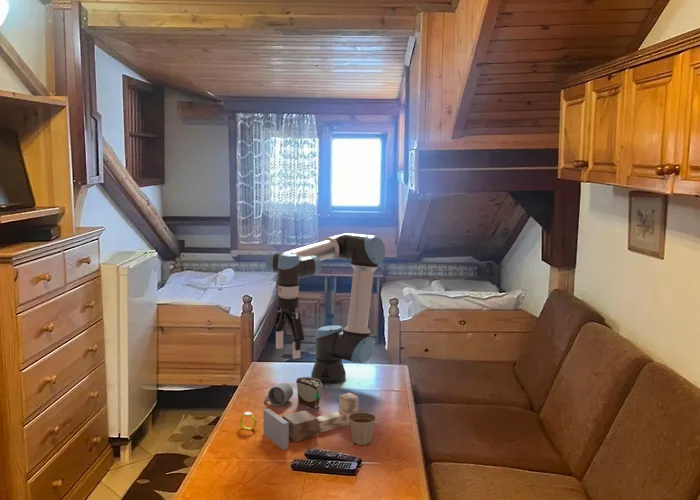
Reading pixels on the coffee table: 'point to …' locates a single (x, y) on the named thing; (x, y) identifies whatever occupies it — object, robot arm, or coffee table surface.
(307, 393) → the half-round slice
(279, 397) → the ceramic mug
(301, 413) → the block
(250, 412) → the watch
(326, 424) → the cream l-shaped piece
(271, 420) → the wall
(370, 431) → the flower pot
